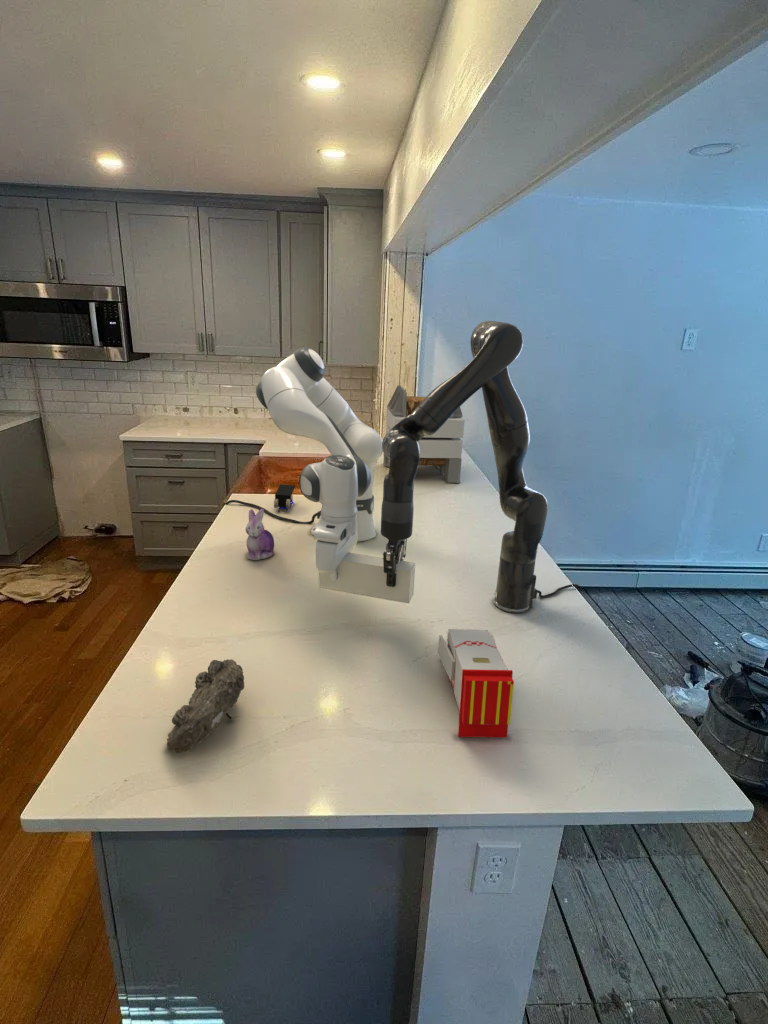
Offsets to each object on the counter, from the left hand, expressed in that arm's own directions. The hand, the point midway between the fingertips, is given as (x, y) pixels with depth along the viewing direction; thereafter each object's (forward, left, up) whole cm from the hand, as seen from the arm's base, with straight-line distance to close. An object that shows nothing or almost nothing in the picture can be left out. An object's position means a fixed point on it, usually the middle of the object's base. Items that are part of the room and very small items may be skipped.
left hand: (338, 574), depth 143 cm
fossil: (-9, -45, -11) cm, 47 cm away
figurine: (-35, +25, -11) cm, 45 cm away
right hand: (+15, 0, +1) cm, 15 cm away
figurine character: (-47, +68, -11) cm, 84 cm away
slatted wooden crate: (-9, +139, -11) cm, 140 cm away
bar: (+7, 0, -4) cm, 8 cm away
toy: (+37, -21, -11) cm, 44 cm away
